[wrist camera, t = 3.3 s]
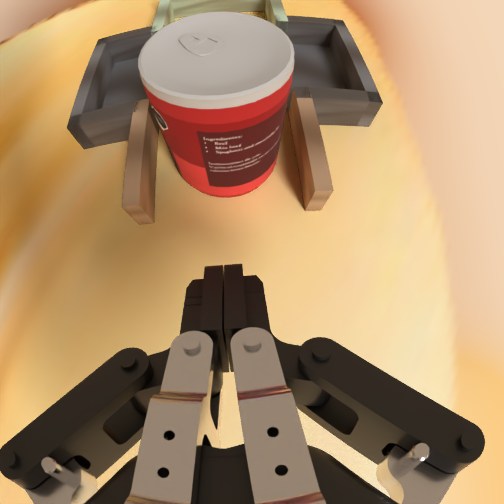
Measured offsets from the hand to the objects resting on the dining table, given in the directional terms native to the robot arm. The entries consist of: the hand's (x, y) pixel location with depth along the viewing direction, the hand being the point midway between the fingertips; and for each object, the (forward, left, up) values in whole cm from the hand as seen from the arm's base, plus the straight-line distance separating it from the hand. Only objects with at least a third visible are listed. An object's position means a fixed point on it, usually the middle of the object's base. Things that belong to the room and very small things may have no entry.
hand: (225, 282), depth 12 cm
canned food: (-8, +7, -8) cm, 14 cm away
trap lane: (-15, +13, -8) cm, 21 cm away
